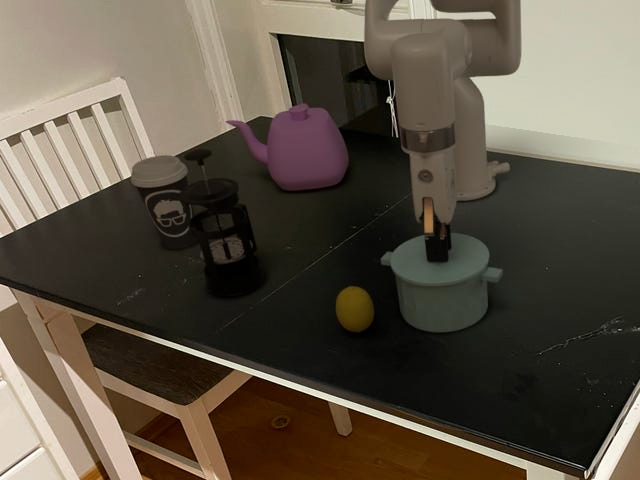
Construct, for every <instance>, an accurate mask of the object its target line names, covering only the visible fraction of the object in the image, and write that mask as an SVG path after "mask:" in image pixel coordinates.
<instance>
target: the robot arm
mask: <svg viewBox="0 0 640 480" xmlns="http://www.w3.org/2000/svg"><path fill="white" fill-rule="evenodd" d="M399 1H400V0H365V2H364V28H363V47H364V49H363V50H364V57H365V62H366V65H367V68H368V70H369V72H370V73H371V74H372V76H374V77H375V78H377V79H379V80H382V81H393V86H394V94H395V103H396V104H395V105H396V112H397V120H398V129H399V130H398V131H399V137H400V146H401V150H402V151H403V152H404V153H406V154H408V155H409V167H410V168H409V171H410V181H411V193H412V202H413V210H414V216H415V220H416V222H417V223H418V224H419V225H421V224H422V223H423V233H424V234H423V235H425V247H426V257H427V261H428V262H447V261H448V259H449V255H448V250H451V248H452V244H451V233H452V232H451V231H452V230H451V225H450V223H451V222H452V219H453V216H454V215H455V214H454V213H455V209H456V207H457V203H458V202H459V201H460V202H463V201H473V200H474V201H475V200H478V199H481V198H484V197H486V196H488V195H490V194H491V193H492V192H494V191H495V188H496V179H495V177H496V176H497V175H499V174H504V173H505V174H506V173H508V172H510V170H511V167H510V164H509V162H507V161H506V162H502V163H499V161H498V160H492V161H489V162H488V158H487V157H488V156H487V136H486V135H487V133H486V113H485V112H486V111H485V101H484V96H483V94H482V92H481V90H480V88H479V87H478V86H477V85H476V83H475V82H474V81H473V80H472V78H477V77H501V76H503V77H504V76H510V75H513V74H515V73H516V72H517V71H518V70H519V68H520V66H521V61H522V5H521V4H522V3H521V0H428V1H429V3H430V6H431V7H432V8H433V9H434V10H435V11H437V12H440V13H446V14H466V13H467V14H468V13H491V14H492V15H493V16H494V17H495V18H469V19H468V18H463V19H455V18H446V17H445V18H442V17H441V18H405V19H404V18H403V19H389V18H390V15H391V11H392V10H393V8H394V7H395V5H396V4H397V3H398V2H399ZM435 224H439V228H438V227H435ZM444 224H445V225H446V233H447V236H445V232H444Z"/></svg>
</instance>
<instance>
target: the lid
mask: <svg viewBox="0 0 640 480" xmlns="http://www.w3.org/2000/svg"><path fill="white" fill-rule="evenodd" d="M446 225H447V224H444V232H445V236H447V233H446ZM435 227H438V228H439V224H435ZM451 244H452V248H451V250H448V255H449V259H448V261H447V262H428V261H427V257H426V247H425V235H424V234H423V235H419V236H415V237H413V238H411V239H408V240H406V241H405V242H403V243H401V244H400V245H399V246H398V247H397V248H395V249H394V251H393V254H392V256H391V259H390V264H391V266H390V268H391V270H392V272H393V273H394V275H395V274H396V275H397V276H398V277H399V278H401V279H402V280H404V281H407V282H409V283H412V284H417V285H422V286H446V285H452V284H457V283H460V282H464V281H466V280H469V279H471V278H473V277H475V276H476V275H478V274H479V273H481V272H482V271H483V270H484V269H485V268H486V267H488V264H489V262H490V251H489V249H488V247H487V245H486V244H485V243H483V242H482V241H481V240H480V239H478V238H477V237H473V236H472V235H471V236H470V235H468V234H465V233H464V234H463V233H457V232H451Z"/></svg>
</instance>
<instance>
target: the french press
mask: <svg viewBox="0 0 640 480" xmlns="http://www.w3.org/2000/svg"><path fill="white" fill-rule="evenodd" d="M213 154H214V151H213V150H212V149H210V148H196V149H192V150H190V151H188V152H186V153H185V154H183V159H184V160H186V161H192V162H195V161H196V163H197V165H198V166H199V167H200V169H201V172H202V173H201V174H202V176H203V179H202V180H199V181H196V182H193V183H191V184H188V186H187V187H185V188H184V189H182V191H181V192H180V194H179V198H180V200H181V201H182V202H184V203H185V207H186V208H187V206H188V204H190V205H193V206H200V207H203V208H205V209H204V210H201V211H199V212H198V213H196V214H195V215H194V216H193V217H192V218H191V219H190V220H189V223H188V226H189V229H190V232H191V234H192V235H193V236H194V237H196V238H198V241H197V242H198V243H199V247H200V253H199V257H200V258H201V260H203V262H204V263H205V266H204V268H203V275H204V277H205V281H206V289H207V291H208V293H209V294H211V295H212V296H214V297H217V298H221V299H222V298H223V299H232V298H239V297H242V296H246V295H248V294H251V293H253V292H255V291H257V290H258V289H259V288H261V286H262V285H263V283H264V282H265V274H264V272H263V271H262V268H261V264H260V260H259V258H258V257H257V256H256V255H255V253H256V252H257V251H258V247H257V243H256V239H255V235H254V230H253V227H252V223H251V219H250V216H249V212H248V209H247V205H246V204H245V203H242V202H241V203H240V201H239V200H240V197H239V193H238V191H239V190H240V186H239V183H238V182H237V181H235V180H234V179H232V178H225V177H215V178H208V177H207V174H206V172H205V168H204V166H205V159H206V160H207V159H208V158H210V157H211V156H212V155H213ZM220 215H230V216H231V220H232V224H233V225H232V226H230V227H227V228H224V229H222V226H221V222H220V218H219V216H220ZM211 217H215V220H216V224H217V227H218V230H214V231H205V229H204V226H203V223H202V221H203V220H206V219H208V218H211ZM193 227H194V228H195V230H194V229H192V228H193ZM234 235H236V237H235V236H234ZM213 240H214V241H213ZM209 241H211V242H209ZM235 272H247V273H246V274H243V275H241V276H237V277H234V278H228V279H227V278H226V279H221V278H222V277H224V276H225V275H228V274H230V273H235Z"/></svg>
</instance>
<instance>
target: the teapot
mask: <svg viewBox="0 0 640 480" xmlns="http://www.w3.org/2000/svg"><path fill="white" fill-rule="evenodd" d="M225 123H226V124H228V125H230V126H232V127H235V128H236V129H237V130H238V131H239V132H240V133H241V135H242V137H243V138H244V140H245V142H246V145H247V148H248V149H249V152H250V154H251V155H252V157H253V159H255V160H256V161H257V162H259V163H260V164H262V165H264V166H266V167H267V168H268V172H269V175H270V177H271V178H272V179H273V181H274V182H275V183H276V185H277V186H278V187H279V188H280V189H282V190H285V191H304V190H313V189H314V190H315V189H321V188H326V187H333V186H335V185H337V184H339V183H340V182H341V181H342V180H343V178H344V176H345V174H346V171H347V169H348V166H349V159H350V158H349V152H348V149H347V145H346V143H345V140H344V137H343V135H342V133H341V132H340V129H339V127H338V126H337V125H336V123H335V121H334V120H333V118H332V116H331V115H330V113H329V112H328V111H327V110H326V109H325V108H323V107H309V105H308V104H307V103H300V104H298V105H297V104H296V105H293V106H291V107H289V109H288V110H284V111H283V110H282V111H280V112H278V113H276V114H275V115H274V116H273V118H272V120H271V122H270V126H269V130H268V135H267V142H266V144H263V143H261V142H260V141H259V140H258V139H257V138H256V136H255V134H254V132H253V130H252V128H251V127H250V126H249V125H248V124H247V123H246V122H245V121H242V120H236V119H235V120H234V119H232V120H231V119H230V120H225Z"/></svg>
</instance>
